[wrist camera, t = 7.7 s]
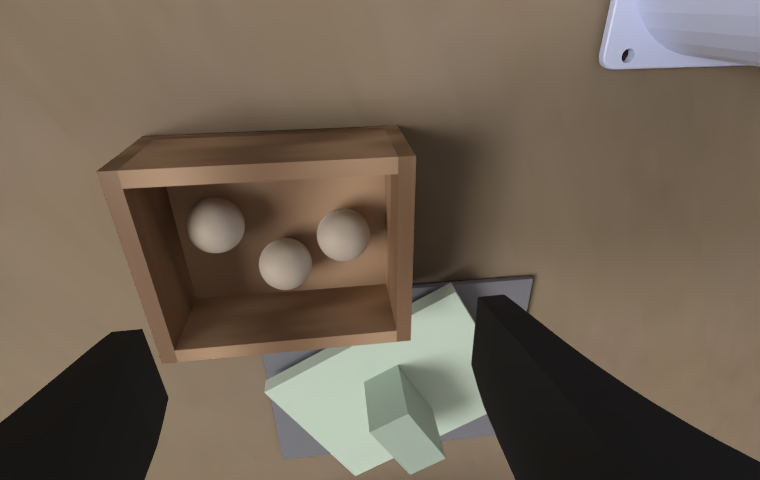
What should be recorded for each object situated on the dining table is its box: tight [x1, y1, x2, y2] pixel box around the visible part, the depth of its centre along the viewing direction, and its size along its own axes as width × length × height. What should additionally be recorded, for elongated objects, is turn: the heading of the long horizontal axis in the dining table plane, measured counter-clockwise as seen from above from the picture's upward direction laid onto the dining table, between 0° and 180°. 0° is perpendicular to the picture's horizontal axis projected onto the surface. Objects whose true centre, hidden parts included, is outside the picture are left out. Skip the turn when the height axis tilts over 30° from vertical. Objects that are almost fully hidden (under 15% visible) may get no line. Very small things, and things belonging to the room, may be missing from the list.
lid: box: [264, 283, 487, 476], centre depth 22 cm, size 11×9×4 cm
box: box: [97, 126, 416, 363], centre depth 18 cm, size 10×8×4 cm
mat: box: [262, 275, 533, 459], centre depth 24 cm, size 14×12×1 cm
